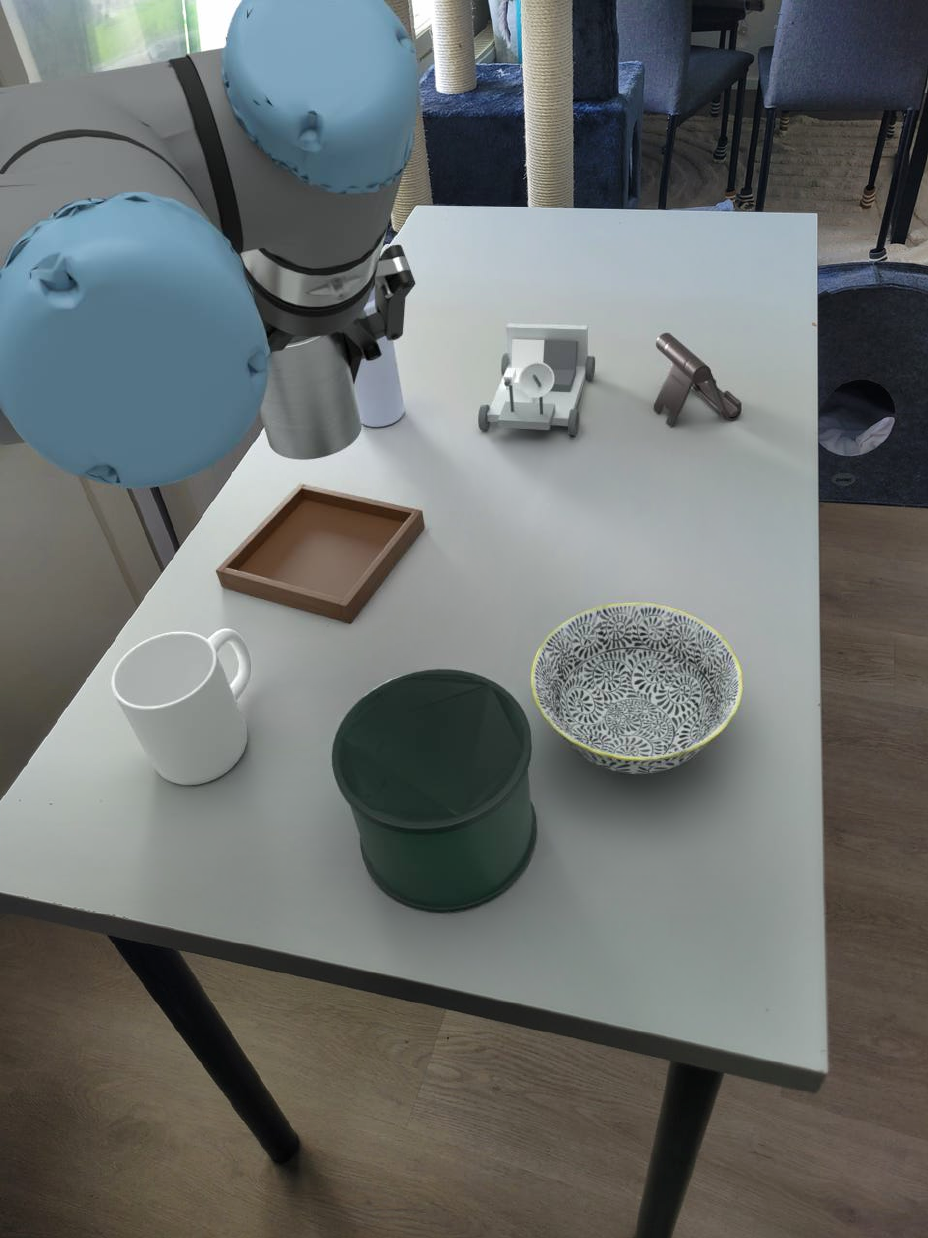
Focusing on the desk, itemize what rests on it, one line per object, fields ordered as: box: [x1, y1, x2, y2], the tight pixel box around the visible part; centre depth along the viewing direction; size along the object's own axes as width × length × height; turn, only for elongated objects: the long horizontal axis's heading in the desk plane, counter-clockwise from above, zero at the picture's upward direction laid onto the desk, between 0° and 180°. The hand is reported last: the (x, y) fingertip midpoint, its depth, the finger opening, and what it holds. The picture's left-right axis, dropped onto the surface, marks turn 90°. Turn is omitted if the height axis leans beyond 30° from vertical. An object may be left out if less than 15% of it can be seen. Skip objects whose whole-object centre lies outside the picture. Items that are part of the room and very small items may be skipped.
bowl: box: [530, 602, 744, 775], centre depth 73 cm, size 16×16×8 cm
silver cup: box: [259, 331, 363, 461], centre depth 68 cm, size 7×7×9 cm
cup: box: [110, 628, 252, 786], centre depth 77 cm, size 8×12×10 cm
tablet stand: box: [652, 332, 743, 427], centre depth 107 cm, size 9×8×8 cm
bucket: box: [331, 668, 538, 914], centre depth 67 cm, size 14×14×11 cm
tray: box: [215, 483, 426, 624], centre depth 96 cm, size 16×16×2 cm
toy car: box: [477, 322, 596, 436], centre depth 110 cm, size 18×10×12 cm
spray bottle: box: [354, 286, 405, 428], centre depth 108 cm, size 6×6×22 cm
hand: (295, 383), depth 71 cm, fingers closed on silver cup, 7 cm apart
